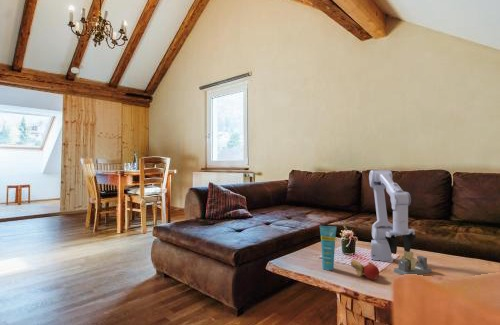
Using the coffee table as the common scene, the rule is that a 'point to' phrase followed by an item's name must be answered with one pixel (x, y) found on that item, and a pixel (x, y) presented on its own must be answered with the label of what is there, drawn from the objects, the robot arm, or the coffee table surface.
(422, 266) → the pipe rig
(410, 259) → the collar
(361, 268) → the kendama
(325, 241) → the tube
